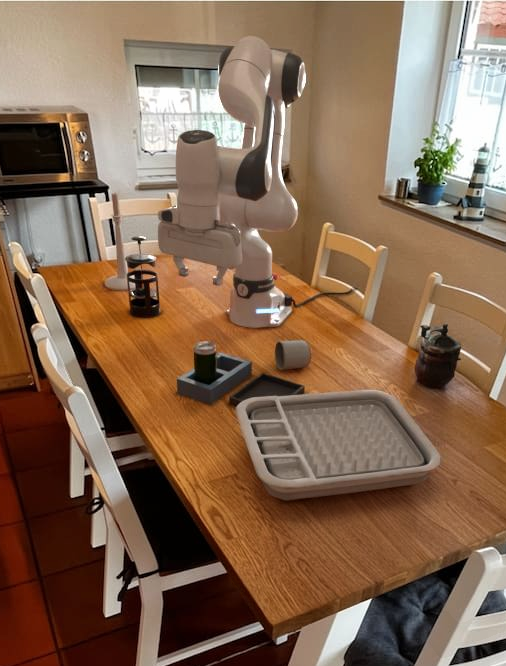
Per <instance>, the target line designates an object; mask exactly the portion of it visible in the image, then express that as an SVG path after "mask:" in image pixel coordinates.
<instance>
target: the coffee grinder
mask: <svg viewBox="0 0 506 666" xmlns="http://www.w3.org/2000/svg"><path fill="white" fill-rule="evenodd" d="M448 326H449V323H447V322H444V323H443V324H442V326H433V327H431V326H429V325H427V324H421V325H419V327H420V328H421V332H420V337H421V338H422V339H421V340H420V349H419V353H418V355H417V358H416V361H415V364H414V373H415V376H416V378H417V380H418V382H419V383H420V384H422V385H426V387H428V388H429V389H430V388H431V389H432V388H439V389H441V388H445V386H446V385H448V384H449V382H450V381H452V380H453V379H454V378H455V375H456V374H455V373H456V369H457V367H458V366H457V364H458V361H461V360H462V358H461V357H460V353H461V350H462V343H461V342H460V341H459V339H457V338H455V337H453V336H451V335H450V334H448V332H449V329H448ZM433 332H436V333H433ZM437 332H438V333H437Z"/></svg>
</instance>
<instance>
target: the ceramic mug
mask: <svg viewBox="0 0 506 666" xmlns="http://www.w3.org/2000/svg"><path fill="white" fill-rule="evenodd" d="M274 360H275V364H276V367H277V368H278V370H280V371H286V370H293V369H294V370H295V369H301V368H306V367H308V366H309V365H310V363H311V362H312V348H311V346H310V344H309V343H308V342H307V341H306V340H302V339H301V340H299V339H298V340H278V341H277V342H276V343H275V347H274Z"/></svg>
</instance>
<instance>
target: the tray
mask: <svg viewBox="0 0 506 666" xmlns="http://www.w3.org/2000/svg"><path fill="white" fill-rule="evenodd" d="M305 386H306V385H304V384H300V383H297V382H295V381H291V380H288V379H285V378H282V377H279V376H274V375H272V374H268V373H266V372H261V373H260V374H259V375H257V376H256V377H254V378H253V379H252V380H250V381H249V382H248V383H247V384H245V385H244V386H242V387H240V389H238V390H237V391H235V392H234V393H233V394H231V395H230V396H228V404H229V406H232V407H235V408H236V407H237V405H238V404H239V403H241V402H242V401H244V400H246V399H249V398H254V397H266V396H278V397H279V396H291V395H304V394H305V388H306V387H305Z"/></svg>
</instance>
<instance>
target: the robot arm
mask: <svg viewBox="0 0 506 666" xmlns="http://www.w3.org/2000/svg"><path fill="white" fill-rule="evenodd" d="M221 52H222V53H221V54H220V56H219V61H218V66H217V67H218V68H217V71H218V82H217V89H216V90H217V98H218V100H219V103H220V105H221V107H222V108H223V109H224V111H225V112H226V113H227V115H229V116H230V117H231V118H232V119H234V120H235V121H237V122H239V123H241V124H243V125H242V126H243V128H242V136H241V147H240V148H235V147H226V146H221V145H218V141H217V137H216V135H215V134H214V133H213V132H211V131H208V130H205V129H191V130H185V131H183V132H181V133H180V134H179V135H178V136H177V140H176V150H175V179H176V183H177V189H178V190H177V191H178V192H177V196H176V205H173V206H171V207H167V208H163V209H160V210H158V211H157V218H158V220H159V221H160V222H159V223H158V225H157V244H158V248H159V250H160V252H161V253H162V254H164V255H165V254H166V255H169V256H172V258H173V259H172V260H173V262H174V264H175V266H176V268H177V271H178V276H179V277H182V278H186V277H188V276H189V267H186V265H185V263H184V260H185V259H186V260H190V261H195V262H198V263H203V264H207V265H211V266H215V267H216V271H217V275H215V276H212V285H214V286H218V287H220V286H222V285H223V283H224V277H225V275H226V273H227V271H228V270H234V273H233V274H232V275H233V277H232V286H233V287H232V288H231V289H230V298H229V308H227V309H226V315H228V317H229V321H230V322H231V323H233V324H234V325H235V326H236V325H237V326H240V327H243V328H252V329H254V328H255V329H258V328H259V329H260V328H268V327H269V328H270V327H271V328H277V327H280V326H281V324H282V323H283V322H284V321H285V320H286V319H287V318H288V317H289V316H290V314H291V313H292V312H293V308H292V307H291V306H293V307H294V308H298V307H301V306H303V305H305V304H307V303H308V302H310V301H313V300H315V299H316V298H318V297H321V296H326V295H327V296H328V295H330V296H332V295H333V296H341V295H348V294H351V293H352V292H353V291H354V290H357V291H358V290H359V288H358V287H357V286H355V285H354V286H352V288H354V289H353V290H352V288H350V289H349V290H348V291H345V292H344V291H343V292H333V291H332V292H331V291H330V292H329V291H327V292H320V293H318V294H315V295H313V296H312V297H309V298H308V299H306V300H304V301H303V302H302V303H299V304H296V300H295V299H294V298H293V296H291V295H289V294H287V293H286V292H283V291H281V289H279V288H278V287H277V286H276V285H275V281H278V280H279V278H280V274H279V273H276V272H273V250H272V248H271V246H270V245H269V244H268V243H267V242H266V241H265V240H264V239H263V238H262V237H261V236H260V234H259V231H258V230H260V231H264V232H265V231H266V232H271V233H277V232H278V233H279V232H280V233H281V232H282V233H283V232H288V231H290V230H291V229H292V228H293V227H294V226H295V224H296V222H297V220H298V216H299V208H298V204H297V201H296V200H295V198H294V197H293V195H292V194H291V193H290V192H289V190H288V189H287V188H288V187H287V186H286V184H285V181H284V178H283V173H282V152H283V144H284V135H285V127H286V126H285V125H286V124H285V123H286V109H288V108H289V107H290V105H291V104H293V103H295V102H296V101H297V100H298V99H299V98H300V97H301V96H302V93H303V90H304V88H305V85H306V80H307V73H306V68H305V63H304V60H303V59H302V57H301V56H300V55H297V54H294V53H292V52H284V51H281V50H277V49H273V48H270V46H269V45H268V43H267V42H266V41H265V40H263V39H262V38H261V37H258V36H255V35H247V36H246V35H245V36H243V37H242V38H241V39H239V40H238V41H237V42H236V43H235V45H231V46H228V47H226V48H225V49H223V51H221Z"/></svg>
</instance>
